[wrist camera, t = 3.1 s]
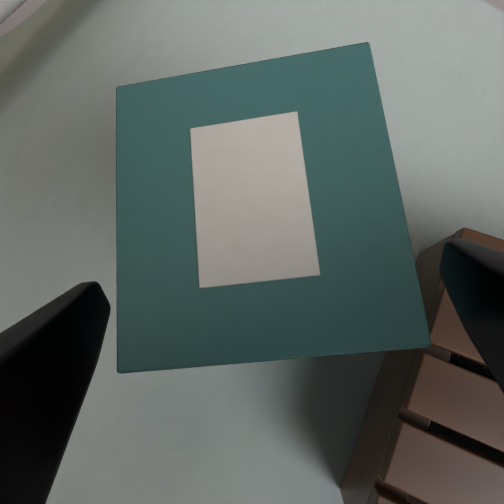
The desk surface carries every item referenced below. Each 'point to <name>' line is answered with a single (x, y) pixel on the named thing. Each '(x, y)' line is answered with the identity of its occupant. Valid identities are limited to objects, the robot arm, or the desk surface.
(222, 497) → the desk surface
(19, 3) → the white file holder
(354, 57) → the tissue box
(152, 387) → the desk surface
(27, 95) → the desk surface
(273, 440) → the desk surface
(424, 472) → the wooden pallet
